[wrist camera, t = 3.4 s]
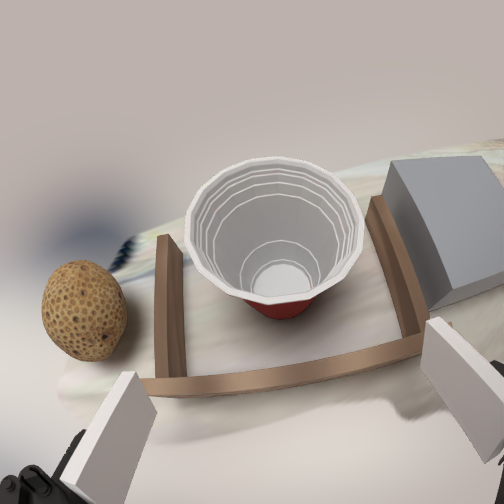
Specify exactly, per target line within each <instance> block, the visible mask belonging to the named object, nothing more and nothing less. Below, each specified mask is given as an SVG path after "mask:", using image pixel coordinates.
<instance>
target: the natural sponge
mask: <svg viewBox="0 0 504 504" xmlns="http://www.w3.org/2000/svg"><path fill="white" fill-rule="evenodd" d="M42 320H43V324H44V327H45V329H46V332H47V334H48V335H49V337H50V338H51V339H52V341H53V342H54V343H55V344H56V345H57V346H58V347H60V348H61V349H62V350H63V351H65V352H66V353H67V354H68V355H70V356H72V357H73V358H75V359H77V360H80V361H87V362H95V361H101V360H104V359H106V358H108V357H109V356H110V355H111V353H112V352H113V351H114V349H115V347H116V345H117V343H118V341H119V339H120V337H121V335H122V333H123V332H124V330H125V327H126V323H127V309H126V304H125V299H124V296H123V293H122V290H121V288H120V286H119V284H118V283H117V281H116V280H115V278H114V277H113V276H112V275H111V274H110V273H109V272H108V271H106V270H105V269H104V268H102V267H101V266H99V265H97V264H95V263H93V262H90V261H86V260H77V261H72V262H69V263H67V264H65V265H63V266H61V267H59V268H58V269H57V270H56V271H55V272H54V273H53V274H52V275H51V277H50V278H49V280H48V283H47V285H46V289H45V291H44V295H43V300H42Z"/></svg>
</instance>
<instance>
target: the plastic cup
mask: <svg viewBox="0 0 504 504" xmlns="http://www.w3.org/2000/svg"><path fill="white" fill-rule="evenodd" d="M364 225H365V220H364V218H363V215H362V213H361V210H360V207H359V205H358V202H357V200H356V198H355V195H354V194H353V193H352V192H351V191H350V190H349V189H348V188H347V187H346V186H345V185H344V184H343V183H342V182H341V181H340V180H339V179H338V178H337V177H336V176H335V175H334V174H333V173H331V172H329V171H327V170H325V169H323V168H321V167H319V166H317V165H315V164H313V163H310V162H308V161H304V160H298V159H293V158H287V157H280V156H275V157H265V158H255V159H248V160H246V161H243V162H240V163H238V164H235V165H233V166H231V167H228V168H226V169H223V170H221V171H220V172H219V173H217V174H216V175H215V176H214V177H213V178H211V179H210V180H209V181H208V182H207V183H205V184H204V185H203V186H202V187H201V188H200V189H199V190H198V192H197V194H196V195H195V197H194V199H193V201H192V203H191V205H190V206H189V208H188V210H187V212H186V217H185V236H184V243H185V245H186V247H187V249H188V251H189V254H190V256H191V258H192V260H193V262H194V264H195V266H196V268H197V271H198V272H200V273H201V274H202V275H203V276H205V277H206V278H207V279H208V280H210V281H211V282H212V283H214V284H215V285H216V286H217V287H219V288H220V289H221V290H222V291H224V292H225V293H226V294H228V295H230V296H234V297H238V298H241V299H243V300H244V301H245V302H247V303H248V304H249V305H251V306H252V307H253V308H255V309H256V310H257V311H259V312H260V313H263V314H264V315H265V316H267V317H271V318H275V319H279V320H280V319H286V318H293V317H295V316H296V315H298V314H300V313H301V312H303V311H305V309H306V308H307V306H309V305H310V304H311V302H312V301H313V300H314V298H315V297H316V295H317V294H319V293H321V292H323V291H324V290H326V289H328V288H329V287H331V286H333V285H334V284H336V283H338V282H339V281H341V280H343V279H344V278H345V276H346V275H347V273H348V272H349V270H350V269H351V267H352V266H353V264H354V263H355V261H356V259H357V258H358V256H359V255H360V253H361V252H362V247H363V237H364Z"/></svg>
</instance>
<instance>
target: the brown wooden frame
mask: <svg viewBox="0 0 504 504" xmlns="http://www.w3.org/2000/svg"><path fill="white" fill-rule="evenodd" d="M365 222H366V225H367V227H368V230H369V233H370V235H371V238H372V240H373V243H374V246H375V249H376V251H377V254H378V257H379V260H380V263H381V266H382V268H383V271H384V274H385V278H386V281H387V284H388V287H389V290H390V293H391V297H392V300H393V303H394V307H395V310H396V314H397V317H398V321H399V325H400V328H401V332H402V336H403V338H402V339H399V340H395V341H392V342H388V343H385V344H381V345H378V346H374V347H370V348H367V349H363V350H359V351H355V352H351V353H347V354H342V355H338V356H333V357H329V358H324V359H319V360H314V361H309V362H304V363H299V364H293V365H287V366H281V367H275V368H268V369H262V370H254V371H246V372H238V373H229V374H219V375H208V376H195V377H187V373H186V358H185V340H184V317H183V253H182V252H181V251H180V249H179V248H178V246H177V245H176V244H175V242H174V241H173V239H172V238H171V237H170V235H169V234H165V235H160V236H157V249H156V267H155V294H154V351H155V377H156V378H145V379H140V381H141V383H142V385H143V387H144V389H145V391H146V393H147V395H148V396H155V397H167V398H195V397H213V396H226V395H237V394H247V393H255V392H263V391H271V390H277V389H284V388H290V387H296V386H302V385H307V384H312V383H317V382H322V381H327V380H332V379H336V378H340V377H345V376H349V375H353V374H357V373H361V372H364V371H368V370H372V369H375V368H379V367H382V366H386V365H389V364H392V363H395V362H399V361H402V360H405V359H408V358H411V357H414V356H417V355H419V354H422V349H423V342H424V334H425V324H426V321H427V320H430V316H429V313H428V310H427V306H426V303H425V300H424V297H423V294H422V291H421V288H420V285H419V282H418V279H417V276H416V274H415V271H414V268H413V265H412V263H411V260H410V257H409V255H408V252H407V250H406V247H405V245H404V242H403V240H402V238H401V235H400V233H399V231H398V228H397V226H396V224H395V221H394V219H393V217H392V215H391V213H390V210H389V208H388V206H387V204H386V202H385V200H384V198H383V196H382V195H379V196H372V197H371V200H370V204H369V207H368V211H367V214H366V218H365ZM447 324H448V325H449V326H451V327H452V323H451V322H449V323H447ZM452 328H453V327H452Z"/></svg>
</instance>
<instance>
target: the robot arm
mask: <svg viewBox="0 0 504 504" xmlns="http://www.w3.org/2000/svg"><path fill="white" fill-rule="evenodd" d="M420 369H421V371H422V372H423V373H424V375H425V376H426V377H427V379H428V380H429V381H430V383H431V384H432V386H433V387H434V388H435V390H436V391H437V393H438V394H439V395H440V397H441V398H442V400H443V401H444V402H445V404H446V405H447V407H448V408H449V410H450V411H451V413H452V414H453V416H454V417H455V418H456V420H457V421H458V423H459V424H460V426H461V427H462V429H463V431H464V432H465V434H466V435H467V437H468V438H469V440H470V441H471V443H472V444H473V446H474V448H475V449H476V451H477V452H478V454H479V456H480V457H481V459H482V461H483V462H484V464H485V463H486V462H488V461H490V460H491V459H492V458H494V457H495V456H497V455H498V454H499V453H500V452H501V450H502V449H503V448H504V364H502V363H500V362H498V361H496V360H493V361H492V362H490V363H489V362H488V361H487V360H486V359H485V358H484V357H483V356H482V355H481V354H480V353H479V352H478V351H476V350H475V349H474V348H473V347H472V346H471V345H470V344H469V343H468V342H467V341H466V340H465V339H464V338H463V337H462V336H460V335H459V334H458V333H457V332H456V331H455V330H454V329H453V328H452V327H451V326H449V325H448V324H447V323H446V322H445V321H444V320H443V319H442V318H440V317H439V316H438V317H436V318H433V319H430V320H427V321H426V324H425V334H424V342H423V349H422V356H421V362H420ZM156 414H157V411H156V409H155V407H154V406H153V404H152V402H151V400H150V398H149V396H148V395H147V393H146V391H145V389H144V387H143V385H142V383H141V381H140V379H139V377H138V375H137V373H136V371H122V373H121V374H120V376H119V377H118V379H117V381H116V382H115V384H114V385H113V387H112V389H111V390H110V392H109V394H108V395H107V397H106V398H105V400H104V402H103V403H102V405H101V407H100V408H99V410H98V412H97V413H96V415H95V417H94V418H93V420H92V422H91V424H90V425H89V427H88V429H87V430H85V429H83V430H82V431H81V432H79V433H78V434H77V435H76V436H75V437H74V439H73V441H72V442H71V444H70V447H68V449H67V451H66V454H64V456H63V458H62V460H61V461H60V463H59V465H58V467H57V468H56V470H55V472H54V474H53V476H52V477H51V478H50V477H49V476H48V475H47V474H46V473H45V472H44V471H43V470H42V469H41V468H40V467H39V466H36V465H29V466H27V467H25V468H24V469H22V471H21V472H20V474H19V476H18V478H17V477H16V476H14V475H8V476H6V477H5V478H4V479H3V480H2V481H1V484H0V504H124V501H125V499H126V496H127V493H128V490H129V487H130V484H131V481H132V479H133V476H134V473H135V470H136V468H137V465H138V462H139V459H140V457H141V453H142V451H143V448H144V446H145V443H146V441H147V438H148V435H149V433H150V430H151V427H152V425H153V422H154V420H155V417H156ZM503 461H504V455H503V457H502V458H501V460H500V461H499V463H498V465H501V463H502V462H503ZM503 465H504V464H503ZM495 504H504V467H503V472H502V477H501V481H500V486H499V489H498V493H497V497H496V501H495Z"/></svg>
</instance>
